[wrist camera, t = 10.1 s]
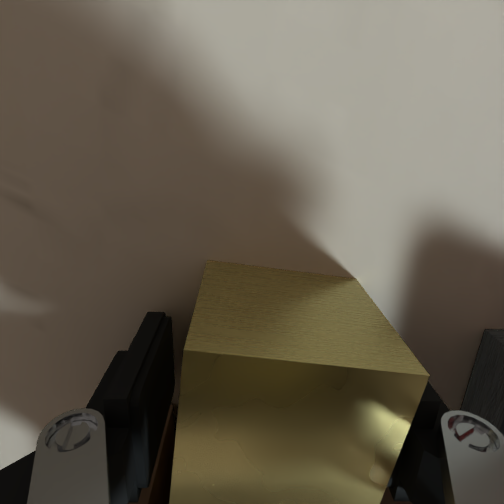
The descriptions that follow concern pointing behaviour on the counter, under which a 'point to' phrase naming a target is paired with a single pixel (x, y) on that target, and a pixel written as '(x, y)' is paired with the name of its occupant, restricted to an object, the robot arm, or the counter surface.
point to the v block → (488, 381)
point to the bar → (290, 391)
